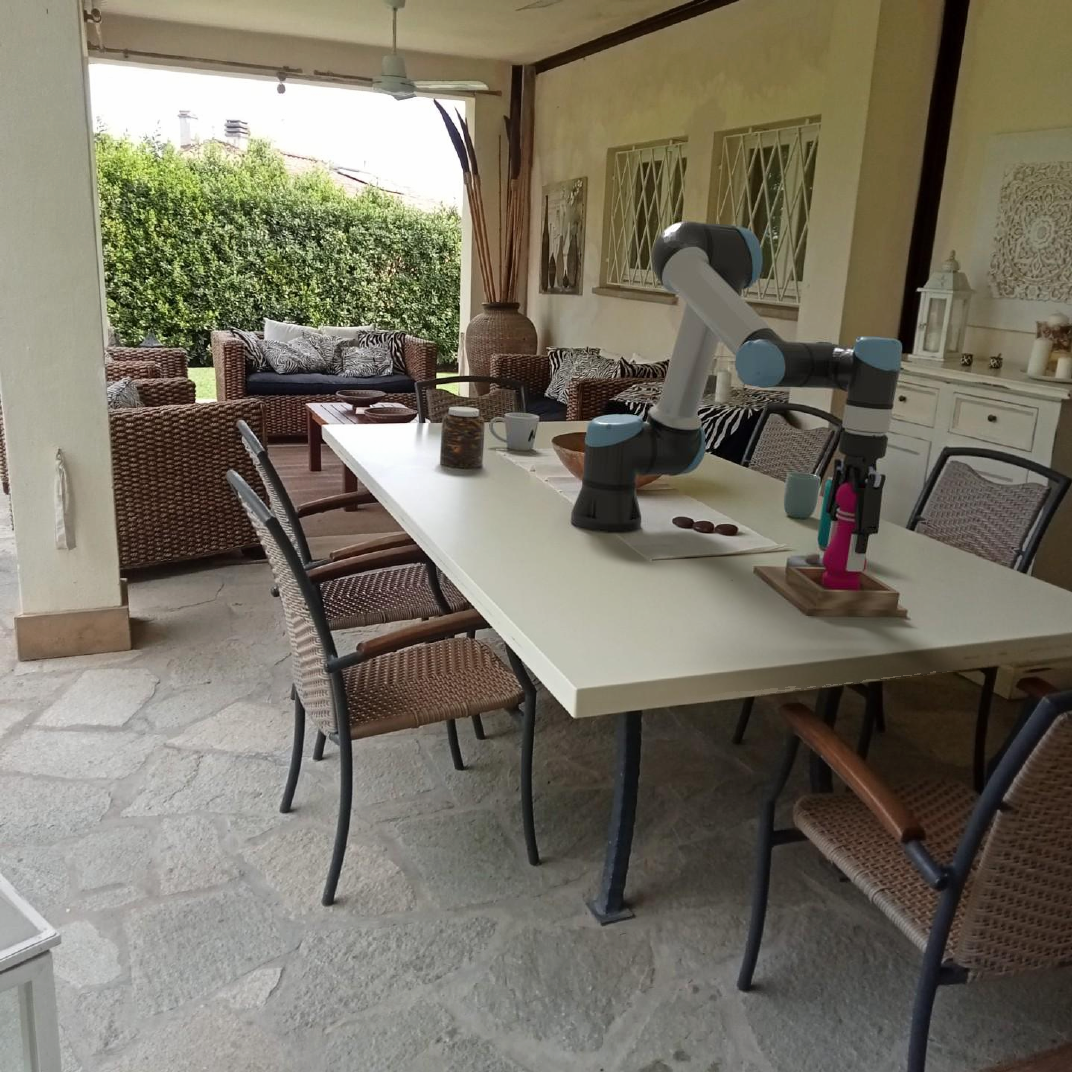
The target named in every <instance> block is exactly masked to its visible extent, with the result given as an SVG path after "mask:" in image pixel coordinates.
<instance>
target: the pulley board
mask: <svg viewBox="0 0 1072 1072" xmlns="http://www.w3.org/2000/svg"><path fill="white" fill-rule="evenodd" d="M822 559H823V557H821V554H820V553H817V552H806V555H791V556H788V557H787V558H786V563H785V564H786V565H785V566H777V565H776V566H773V565H772V566H771V565H754V566H753V573H754V574H755V575H756V576H757V577H759V578H760V579H761V580H762V581H764V582H765V583H766V584H768V585H769V586H770V587H771V588H772V589H773V590H774V591H776V592H777V593H778V594H780V595H781V596H782V597H783V598H784V599H786V601H788V602H789V603H791V605H793V606H794V607H796V609H798V610H799V611H800V612H802V613H803V614H804V615H806V616H817V617H818V616H825V617H828V616H829V617H830V616H831V617H835V616H836V617H882V618H883V617H887V618H888V617H889V618H895V617H896V618H907V616H908V609H906V608H905V607H903V606H902V605H901V604H899V600H900V596H901V595H900V592H899V591H897V590H896V589H894V588H893V587H891V586H889V585H887V584H886V583H885V582H883V581H881V580H880V579H878V578H876V577H875V576H874V575H872V574H871V573H870V572H869V573H868V572H867V571H866V570H864V571H863V572H862V573H861V574H860V575H858V577H859V578H860V587H859V590H833V589H829V588H827V587H825V586H824V585H823V584H822V579H823V574H824V573H825V572H827V570H826V569H825V567H824V565H823V563H822Z"/></svg>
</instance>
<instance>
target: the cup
mask: <svg viewBox="0 0 1072 1072" xmlns="http://www.w3.org/2000/svg"><path fill="white" fill-rule="evenodd" d="M821 478H822V477H820V476H819V475H818V474H814V473H807V472H801V471H800V472H799V471H798V472H797V471H793V472H792V471H791V472H788V473H786V480H785V485H784V486H785V487H784V495H783V507H784V508H783V509H784V512H785V514H786V515H787V516H789V517H791V518H794V519H795V518H796V519H799V520H800V519H802V520H803V519H809V518H811V517H812V515H813V514H814V513H815V510H816V507H817V504H818V500H819V493H820V486H821Z"/></svg>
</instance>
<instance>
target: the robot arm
mask: <svg viewBox="0 0 1072 1072" xmlns="http://www.w3.org/2000/svg"><path fill="white" fill-rule="evenodd" d="M760 245H761V244H760V241H759V239H758V237H757V236H756V234H755V233H754V232H753V231H751V230H750V229H749V228H748V229H747V228H745V227H740V226H735V225H733V224H720V223H708V222H696V221H691V220H690V221H689V220H687V221H680V222H679V221H678V222H676V223H673V224H671V225H669V226H668V227H667V228H664V230H663V231H662V232H660V234H659V235H658V236H657V238H656V239H655V241H654V243H653V246H652V250H651V254H650V255H651V256H650V259H651V260H650V261H651V267H652V270H653V273H654V275H655V277H656V279H657V280H658V281H659V282H660V283H661V285H662V286H663V287H664V288H665V290H667V292H669V293H672V295H673V294H674V295H679V296H680V298H681V299H683V301H684V302H685V307H684V310H683V313H682V317H681V320H680V323H679V327H678V332H677V335H676V339H675V343H674V345H673V350H672V354H671V356H670V360H669V364H668V368H667V372H666V374H665V379H664V382H663V386H662V390H661V393H660V396H659V400H658V403H656V404H655V405H653V406H651V407H650V408H649V410H648V414H647V417H646V420H645V421H643V418H642V417H641V416H639V415H634V414H628V413H625V414H618V413H616V414H606V415H602V416H597V417H595V418H593V419H592V420H591V421H589V423H588V424H587V427H586V434H585V438H584V443H585V444H584V445H585V446H584V459H583V469H582V470H583V471H582V481H581V489H580V490H579V493H578V495H577V497H576V499H575V503H574V505H573V508H571V509H572V510H571V513H570V515H571V517H570V523H571V524H573V525H574V526H577V527H579V528H581V529H584V530H590V531H595V532H601V533H616V534H617V533H619V534H620V533H631V532H636V531H638V530H640V529H641V527H642V526H641V525H642V515H641V509H640V505H639V499H638V496H637V495H638V494H637V483H638V477H649V476H650V477H651V476H652V477H654V476H669V477H675V476H678V475H679V476H680V475H687V474H689V473H691V472H693V471H695V470H696V469H697V468H698V467H699V466H700V464H701V463H702V461H703V460H704V456H705V453H706V450H707V442H706V440H707V436H706V433H705V430H704V428H703V427H702V424H703V423H702V420H701V418H700V417H699V415H698V412H699V410H700V406H701V403H702V399H703V396H704V392H705V389H706V386H707V382H708V379H709V376H710V372H711V369H712V366H713V363H714V358H715V356H716V354H717V353H716V352H717V349H718V346H719V342H720V341H721V342H722V343H723V344H724V346H725V347H726V348H727V349H728V350H729V351H730V352H731V353H732V355H734V356H735V360H734V368H735V371H736V372H737V378H738V379H739V381H740V382H741V383H742V384H744V385H746V386H749V387H758V388H761V389H767V388H769V389H770V388H803V389H805V388H810V389H811V388H812V389H830V390H831V389H832V390H837V391H842V392H846V399H845V404H844V409H843V410H844V411H843V415H842V417H843V418H842V422H841V423H842V425H841V426H842V428H843V429H844V430H843V431H841V432H840V438H839V445H838V446H839V447H838V452H839V453H841V454H843V455H844V458H843V459H842V458H836V459H834V462H833V463H834V464H833V475H832V476H833V478H832V483H831V488H830V492H829V497H828V502H827V506H826V513H827V514H830V519H831V520H832V521H831V526H830V533H829V539H828V545H829V544H830V542H831V541H832V539H833V537H834V535H835V533H836V530H837V526H838V518H837V517H836V514H837V509H838V508H840V507H839V505H838V503H837V501H836V494H837V491H838V489H839V487H840V486H841V485H843V484H844V483H847V482H850V483H852V492H853V493H855V494H856V501H855V530H854V531H851V533H852V536H851V542H850V548H849V554H848V561H847V567H846V570H847V571H861V572H863V568H864V562H865V556H866V557H867V555H866V554H867V552H868V551H867V549H868V546H869V545H868V543H869V538H870V536H872V535H877V534H878V533H879V530H880V529H879V528H880V520H881V519H880V518H881V517H880V516H881V510H882V509H881V506H882V499H883V498H882V497H883V488H884V485H885V482H886V478H887V477H886V475H885V474H883V473H882V474H880V473H878V472H877V471H878V470H877V461H878V460H879V459H883V458H884V457H886V453H887V447H888V442H889V437H888V436H887V433H888V432H890V428H891V427H890V426H891V421H892V418H893V416H894V414H893V408H894V405H895V404H894V402H895V397H896V392H897V391H896V389H897V386H898V381H899V376H900V371H901V368H902V352H903V345H902V342H901V341H900V340H898V339H895V338H889V337H887V338H886V337H879V336H864V335H863V336H858V337H857V338H856V339H855V341H854V346H848V345H842V344H838V343H837V344H836V343H832V342H830V341H829V342H828V341H810V342H801V341H800V342H799V341H797V342H796V341H786V340H784V339H783V338H782V337H781V336H780V335H779V334H778V333H777V332H776V331H775V330H774V329H772V328H771V326H770V325H768V324H767V322H766V321H765V320H763V318H762V317H761V316H760V315H759V314H758V313H757V312H756V311H755V310H754V309H753V308H752V307H751V306H750V305H749V303H747V302H746V301H745V300H744V299H743V298H742V296H741V295H742V292H743V290H747V289H748V288H751V287H752V286H753V285H754V284H756V283H757V282H758V280H759V278H760V275H761V272H762V267H763V251H762V247H761V246H760ZM861 488H865V489H861ZM832 506H833V507H832ZM827 547H828V546H827Z"/></svg>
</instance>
